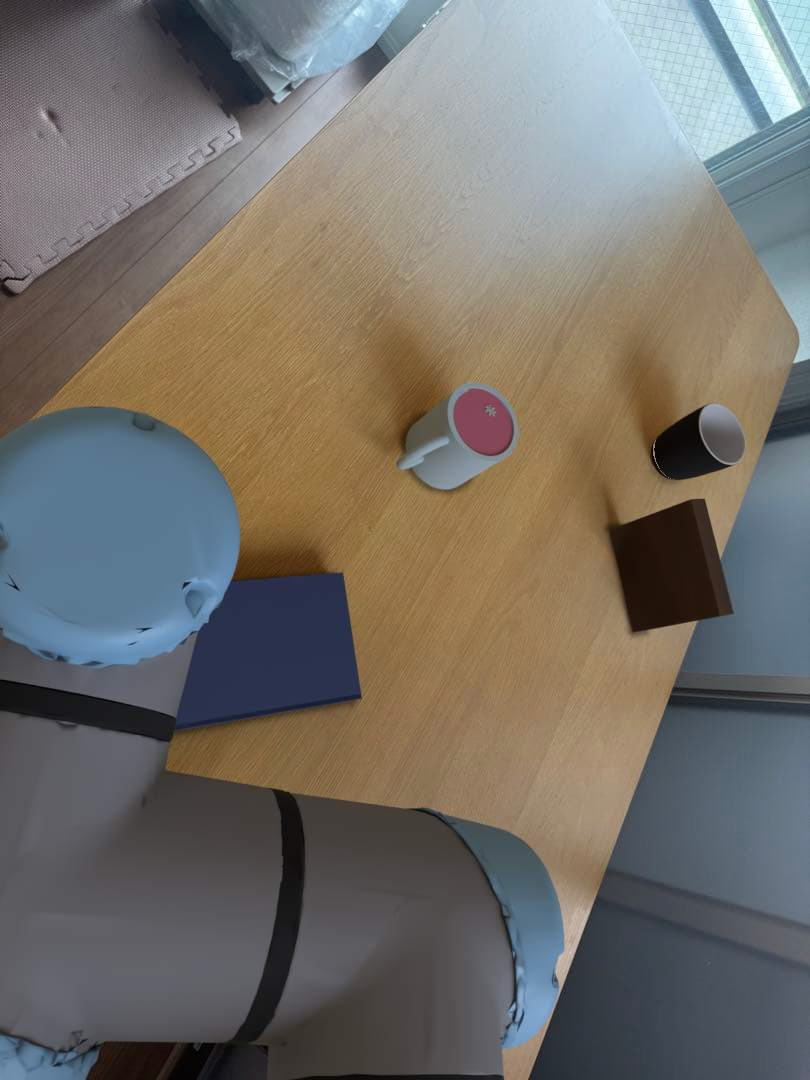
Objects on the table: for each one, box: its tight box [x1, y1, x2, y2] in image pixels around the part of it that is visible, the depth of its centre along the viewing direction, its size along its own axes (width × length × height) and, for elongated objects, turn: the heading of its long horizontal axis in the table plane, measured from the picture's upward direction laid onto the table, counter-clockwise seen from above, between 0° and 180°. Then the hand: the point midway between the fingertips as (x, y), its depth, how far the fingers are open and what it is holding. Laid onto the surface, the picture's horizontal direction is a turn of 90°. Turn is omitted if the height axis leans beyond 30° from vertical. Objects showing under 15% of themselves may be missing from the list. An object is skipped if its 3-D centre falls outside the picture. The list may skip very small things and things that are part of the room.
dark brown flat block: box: [609, 498, 735, 633], centre depth 91 cm, size 2×14×14 cm, turn 9°
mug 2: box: [650, 402, 747, 481], centre depth 103 cm, size 12×9×10 cm
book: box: [174, 572, 363, 732], centre depth 70 cm, size 24×13×3 cm, turn 99°
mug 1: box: [395, 381, 519, 490], centre depth 83 cm, size 14×9×10 cm
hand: (58, 657), depth 53 cm, fingers closed
